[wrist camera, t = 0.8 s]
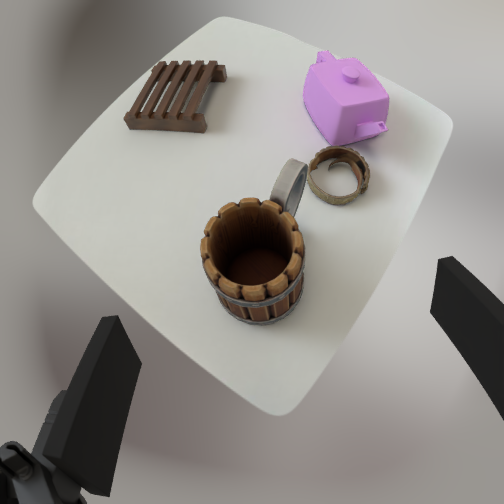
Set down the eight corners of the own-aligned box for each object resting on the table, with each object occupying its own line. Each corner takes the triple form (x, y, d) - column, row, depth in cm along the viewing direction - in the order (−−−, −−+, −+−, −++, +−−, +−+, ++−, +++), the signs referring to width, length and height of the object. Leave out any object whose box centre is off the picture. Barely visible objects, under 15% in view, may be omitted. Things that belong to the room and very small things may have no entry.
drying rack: (129, 129, 49) (120, 115, 45) (158, 76, 53) (153, 61, 49) (204, 133, 47) (199, 117, 43) (227, 76, 51) (224, 60, 47)
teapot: (397, 154, 44) (418, 111, 34) (339, 171, 43) (353, 126, 34) (343, 79, 50) (351, 35, 40) (290, 90, 49) (291, 44, 39)
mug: (278, 340, 37) (281, 333, 23) (202, 301, 39) (162, 270, 25) (332, 231, 41) (357, 168, 27) (260, 198, 43) (252, 127, 29)
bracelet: (375, 173, 43) (380, 162, 40) (350, 218, 41) (355, 209, 38) (323, 146, 45) (326, 133, 42) (295, 187, 43) (296, 176, 40)
